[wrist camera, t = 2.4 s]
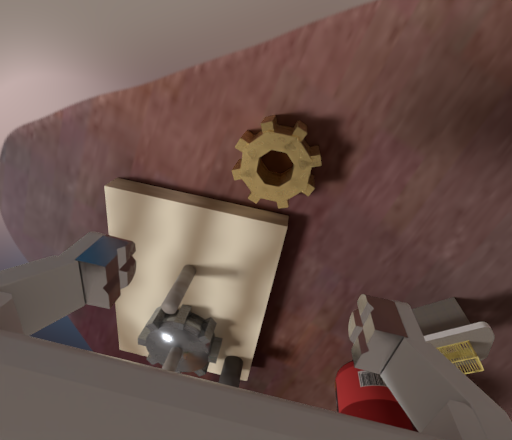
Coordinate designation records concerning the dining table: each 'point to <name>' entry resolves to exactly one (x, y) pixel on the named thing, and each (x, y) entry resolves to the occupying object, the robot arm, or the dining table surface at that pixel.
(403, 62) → the dining table surface
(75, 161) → the dining table surface
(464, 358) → the platform
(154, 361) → the gear
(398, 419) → the canned food
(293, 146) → the brass gear
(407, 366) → the robot arm
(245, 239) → the gear board
